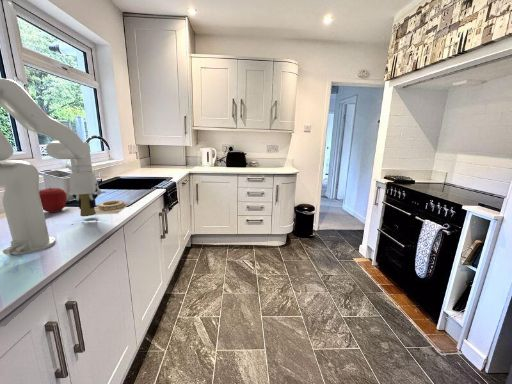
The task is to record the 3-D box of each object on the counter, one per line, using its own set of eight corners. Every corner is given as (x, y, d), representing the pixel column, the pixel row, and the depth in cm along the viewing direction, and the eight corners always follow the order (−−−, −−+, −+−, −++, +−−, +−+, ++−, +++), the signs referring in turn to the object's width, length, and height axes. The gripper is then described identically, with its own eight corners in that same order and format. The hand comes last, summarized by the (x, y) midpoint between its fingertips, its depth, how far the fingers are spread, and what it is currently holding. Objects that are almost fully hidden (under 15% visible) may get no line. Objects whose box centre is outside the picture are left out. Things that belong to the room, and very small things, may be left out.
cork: (88, 216, 108) (84, 193, 106) (77, 215, 109) (73, 192, 107) (99, 213, 114) (96, 190, 112) (88, 212, 115) (85, 190, 113)
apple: (43, 217, 117) (37, 191, 114) (37, 212, 124) (31, 187, 121) (72, 210, 126) (67, 186, 123) (65, 206, 133) (60, 183, 130)
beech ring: (119, 209, 126) (118, 205, 126) (94, 210, 124) (93, 206, 124) (127, 202, 138) (126, 199, 137) (104, 203, 136) (104, 200, 135)
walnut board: (118, 215, 120) (117, 213, 120) (83, 216, 118) (83, 215, 117) (131, 203, 139) (131, 202, 139) (102, 205, 137) (101, 203, 136)
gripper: (56, 170, 102) (62, 210, 106) (98, 170, 105) (103, 209, 109) (66, 168, 110) (72, 206, 113) (105, 168, 112) (110, 205, 116)
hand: (87, 207), depth 111 cm, fingers closed on cork, 4 cm apart
